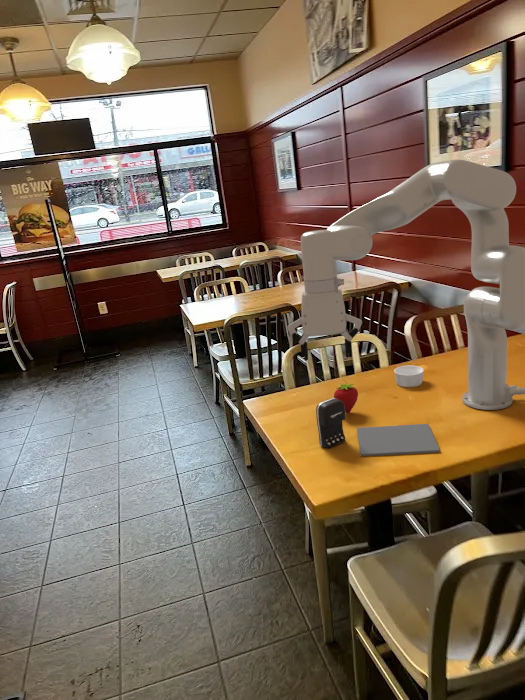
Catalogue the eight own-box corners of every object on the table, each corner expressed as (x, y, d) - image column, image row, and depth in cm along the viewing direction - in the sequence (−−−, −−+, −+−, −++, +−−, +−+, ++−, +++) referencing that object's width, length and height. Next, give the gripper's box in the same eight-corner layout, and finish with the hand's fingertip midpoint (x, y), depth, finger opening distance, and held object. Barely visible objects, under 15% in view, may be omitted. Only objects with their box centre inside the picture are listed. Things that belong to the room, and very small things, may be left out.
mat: (428, 425, 132) (428, 423, 132) (440, 452, 119) (439, 450, 119) (356, 430, 135) (356, 427, 135) (360, 456, 122) (360, 454, 122)
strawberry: (330, 415, 146) (327, 381, 143) (348, 406, 150) (346, 373, 147) (345, 420, 141) (343, 386, 138) (364, 411, 146) (362, 377, 143)
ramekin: (427, 379, 163) (427, 366, 162) (419, 389, 156) (418, 376, 155) (399, 376, 168) (399, 364, 167) (390, 386, 161) (389, 373, 160)
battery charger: (328, 451, 126) (324, 408, 123) (318, 446, 129) (314, 403, 126) (349, 441, 129) (346, 399, 126) (339, 436, 132) (336, 395, 129)
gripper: (358, 279, 120) (362, 350, 125) (284, 286, 123) (291, 355, 128) (360, 285, 113) (365, 359, 118) (282, 292, 116) (289, 365, 121)
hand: (326, 357), depth 123 cm, fingers open, 9 cm apart
